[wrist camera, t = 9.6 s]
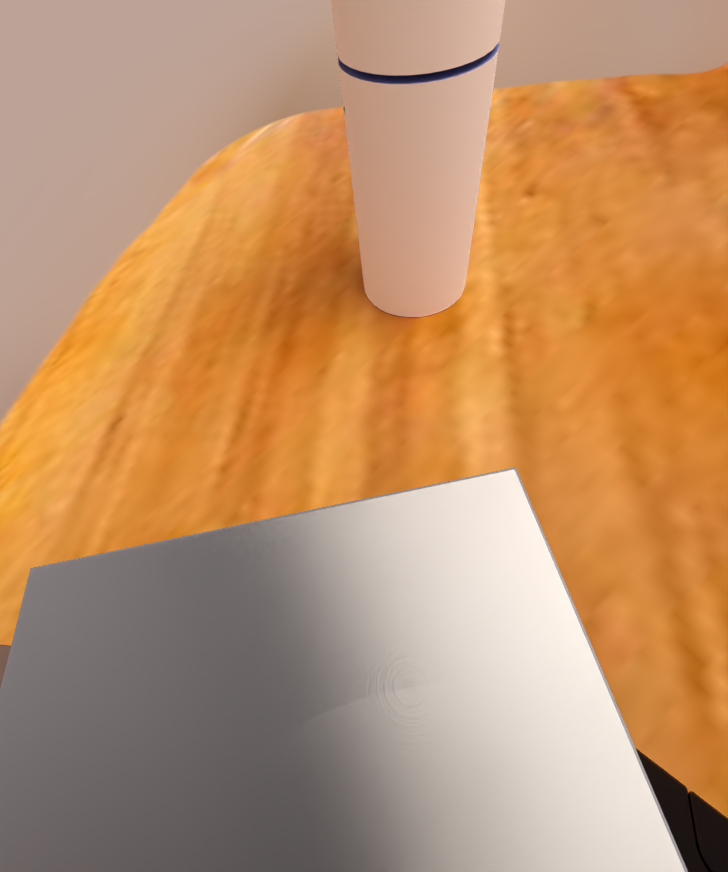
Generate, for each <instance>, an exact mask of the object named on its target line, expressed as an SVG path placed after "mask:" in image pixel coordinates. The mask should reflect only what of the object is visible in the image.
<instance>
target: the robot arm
mask: <svg viewBox="0 0 728 872" xmlns="http://www.w3.org/2000/svg"><path fill="white" fill-rule="evenodd" d="M635 749H636V748H635ZM636 751H637V753H638V756H639V758H640V760H641V763H642V765H643V767H644V770H645V772H646V774H647V777H648V779H649V781H650V784H651V786H652V788H653V791H654V793H655V795H656V798H657V800H658V802H659V805H660V807H661V810H662V812H663V814H664V817H665V819H666V821H667V824H668V826H669V828H670V831H671V833H672V835H673V838H674V840H675V842H676V845H677V847H678V849H679V852H680V854H681V856H682V859H683V861H684V863H685V866H686V868H687V870H688V872H728V818H727V817H725V816H724V815H723V814H721V813H720V812H719V811H717V810H716V809H715V808H713V807H712V806H711V805H710V804H708V803H707V802H706V801H704V800H703V799H702V798H700V797H699V796H698V795H696V794H695V793H694V792H692V791H690V792H689V793H688V790H687V788H686V786H684V785H683V784H682V783H681V782H679V781H678V780H677V779H675V778H674V777H673V776H671V775H670V774H669V773H668V772H666V771H665V770H664V769H662V768H661V767H660V766H658V765H657V764H656V763H654V762H653V761H652V760H651V759H649V758H648V757H647V756H645V755H644V754H643V753H641V752H640V751H639V750H638V749H636Z"/></svg>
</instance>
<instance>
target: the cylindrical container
mask: <svg viewBox="0 0 728 872" xmlns="http://www.w3.org/2000/svg"><path fill="white" fill-rule="evenodd" d="M331 4H332V12H333V21H334V30H335V38H336V47H337V56H338V65H339V73H340V82H341V91H342V99H343V104H344V117H345V126H346V135H347V143H348V152H349V161H350V169H351V178H352V187H353V196H354V204H355V213H356V222H357V230H358V239H359V248H360V257H361V265H362V274H363V283H364V289H365V294H366V295H367V297H368V299H369V300H370V301H371V303H372V304H373V305H375V306H376V307H377V308H379V309H380V310H382V311H384V312H386V313H389V314H392V315H396V316H402V317H423V316H428V315H432V314H435V313H439V312H441V311H443V310H445V309H447V308H449V307H450V306H451V305H453V304H454V303H455V302H456V301H457V300H458V299H459V298H460V297H461V295H462V293H463V291H464V288H465V283H466V277H467V270H468V263H469V255H470V248H471V241H472V234H473V227H474V220H475V213H476V206H477V199H478V192H479V185H480V178H481V170H482V163H483V156H484V149H485V142H486V135H487V127H488V120H489V113H490V106H491V99H492V92H493V85H494V77H495V70H496V63H497V56H498V48H499V39H500V35H501V28H502V20H503V13H504V6H505V0H331Z"/></svg>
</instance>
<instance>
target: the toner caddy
mask: <svg viewBox="0 0 728 872" xmlns="http://www.w3.org/2000/svg"><path fill="white" fill-rule="evenodd" d="M0 872H688V870H687V868H686V866H685V863H684V861H683V859H682V856H681V854H680V852H679V849H678V847H677V845H676V842H675V840H674V838H673V835H672V833H671V831H670V828H669V826H668V824H667V821H666V819H665V817H664V814H663V812H662V810H661V807H660V805H659V802H658V800H657V798H656V795H655V793H654V791H653V788H652V786H651V784H650V781H649V779H648V777H647V774H646V772H645V770H644V767H643V765H642V763H641V760H640V758H639V756H638V753H637V751H636V749H635V746H634V744H633V742H632V739H631V737H630V734H629V732H628V730H627V727H626V725H625V723H624V720H623V718H622V716H621V713H620V711H619V709H618V706H617V704H616V702H615V699H614V697H613V695H612V692H611V690H610V688H609V685H608V683H607V681H606V678H605V676H604V674H603V671H602V669H601V666H600V664H599V662H598V659H597V657H596V655H595V652H594V650H593V648H592V645H591V643H590V641H589V638H588V636H587V634H586V631H585V629H584V627H583V624H582V622H581V620H580V617H579V615H578V613H577V610H576V608H575V606H574V603H573V601H572V598H571V596H570V594H569V591H568V589H567V587H566V584H565V582H564V580H563V577H562V575H561V573H560V570H559V568H558V566H557V563H556V561H555V559H554V556H553V554H552V552H551V549H550V547H549V545H548V542H547V540H546V538H545V535H544V533H543V530H542V528H541V526H540V523H539V521H538V519H537V516H536V514H535V512H534V509H533V507H532V505H531V502H530V500H529V498H528V495H527V493H526V491H525V488H524V486H523V484H522V481H521V479H520V477H519V474H518V472H517V470H516V467H515V468H510V469H505V470H500V471H496V472H491V473H486V474H481V475H476V476H472V477H467V478H462V479H457V480H452V481H448V482H443V483H438V484H433V485H428V486H424V487H419V488H414V489H409V490H404V491H400V492H395V493H390V494H385V495H380V496H375V497H371V498H366V499H361V500H356V501H351V502H347V503H342V504H337V505H332V506H327V507H323V508H318V509H313V510H308V511H303V512H299V513H294V514H289V515H284V516H279V517H275V518H270V519H265V520H260V521H255V522H250V523H246V524H241V525H236V526H231V527H226V528H222V529H217V530H212V531H207V532H202V533H198V534H193V535H188V536H183V537H178V538H174V539H169V540H164V541H159V542H154V543H150V544H145V545H140V546H135V547H130V548H125V549H121V550H116V551H111V552H106V553H101V554H97V555H92V556H87V557H82V558H77V559H73V560H68V561H63V562H58V563H53V564H49V565H44V566H39V567H34V568H30V572H29V576H28V580H27V584H26V588H25V592H24V596H23V600H22V604H21V608H20V612H19V616H18V620H17V624H16V629H15V633H14V637H13V641H12V645H11V649H10V653H9V657H8V661H7V665H6V669H5V673H4V677H3V681H2V685H1V689H0Z"/></svg>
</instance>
